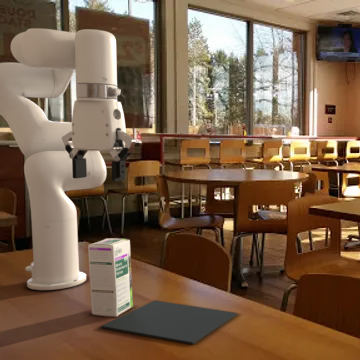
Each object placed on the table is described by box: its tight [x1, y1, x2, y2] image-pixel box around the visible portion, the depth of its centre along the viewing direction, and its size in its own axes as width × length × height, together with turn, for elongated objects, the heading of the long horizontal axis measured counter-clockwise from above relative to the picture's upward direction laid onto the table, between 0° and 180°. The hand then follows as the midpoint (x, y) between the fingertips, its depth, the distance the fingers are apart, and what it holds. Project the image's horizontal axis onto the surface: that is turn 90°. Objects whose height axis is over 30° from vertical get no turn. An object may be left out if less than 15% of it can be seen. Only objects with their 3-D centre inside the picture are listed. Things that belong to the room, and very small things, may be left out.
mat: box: [101, 300, 238, 345], centre depth 95 cm, size 20×15×1 cm
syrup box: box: [87, 237, 134, 318], centre depth 100 cm, size 6×6×14 cm
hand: (99, 179), depth 101 cm, fingers open, 9 cm apart
